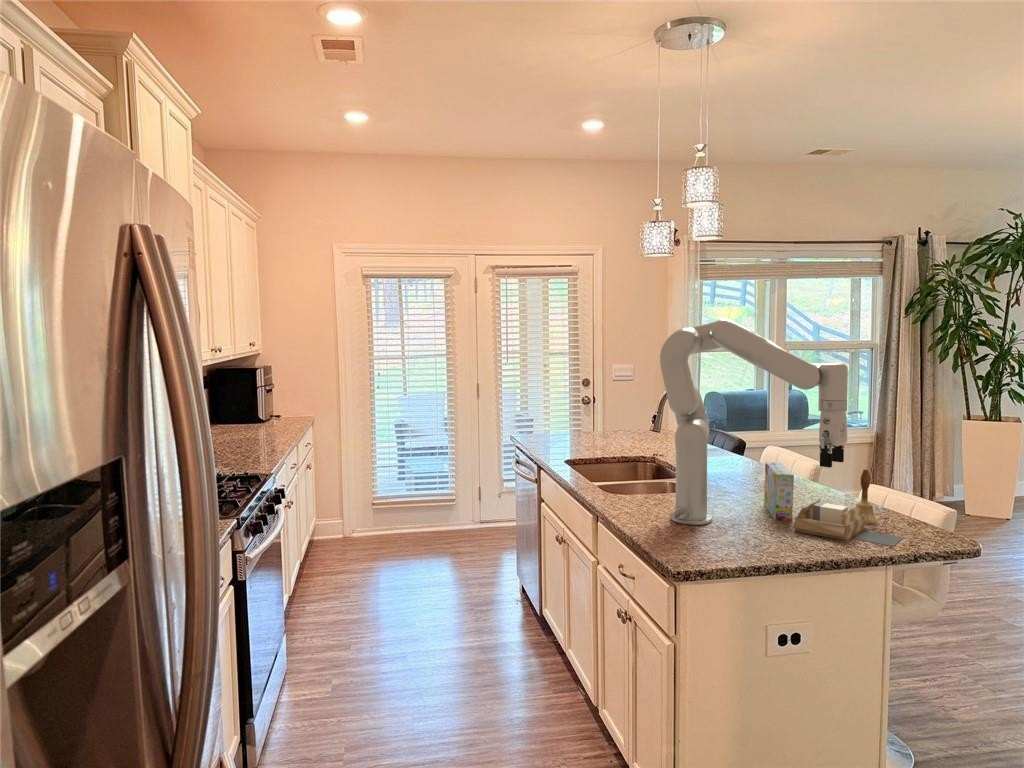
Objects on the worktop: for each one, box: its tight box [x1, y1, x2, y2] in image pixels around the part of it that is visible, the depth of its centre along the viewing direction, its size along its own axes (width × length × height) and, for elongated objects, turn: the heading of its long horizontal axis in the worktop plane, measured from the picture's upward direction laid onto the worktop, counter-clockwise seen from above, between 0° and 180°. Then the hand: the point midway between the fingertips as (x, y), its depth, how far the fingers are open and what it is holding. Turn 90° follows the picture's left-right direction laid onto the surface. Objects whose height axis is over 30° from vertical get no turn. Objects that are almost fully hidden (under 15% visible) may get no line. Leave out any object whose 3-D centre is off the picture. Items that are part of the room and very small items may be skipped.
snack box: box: [763, 461, 795, 522], centre depth 213 cm, size 21×6×15 cm, turn 168°
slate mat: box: [853, 530, 904, 547], centre depth 185 cm, size 10×10×1 cm
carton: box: [793, 498, 866, 541], centre depth 194 cm, size 20×14×7 cm
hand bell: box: [855, 469, 880, 524], centre depth 204 cm, size 8×8×16 cm
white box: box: [813, 501, 849, 526], centre depth 194 cm, size 5×8×7 cm, turn 46°
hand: (831, 464), depth 193 cm, fingers open, 9 cm apart
